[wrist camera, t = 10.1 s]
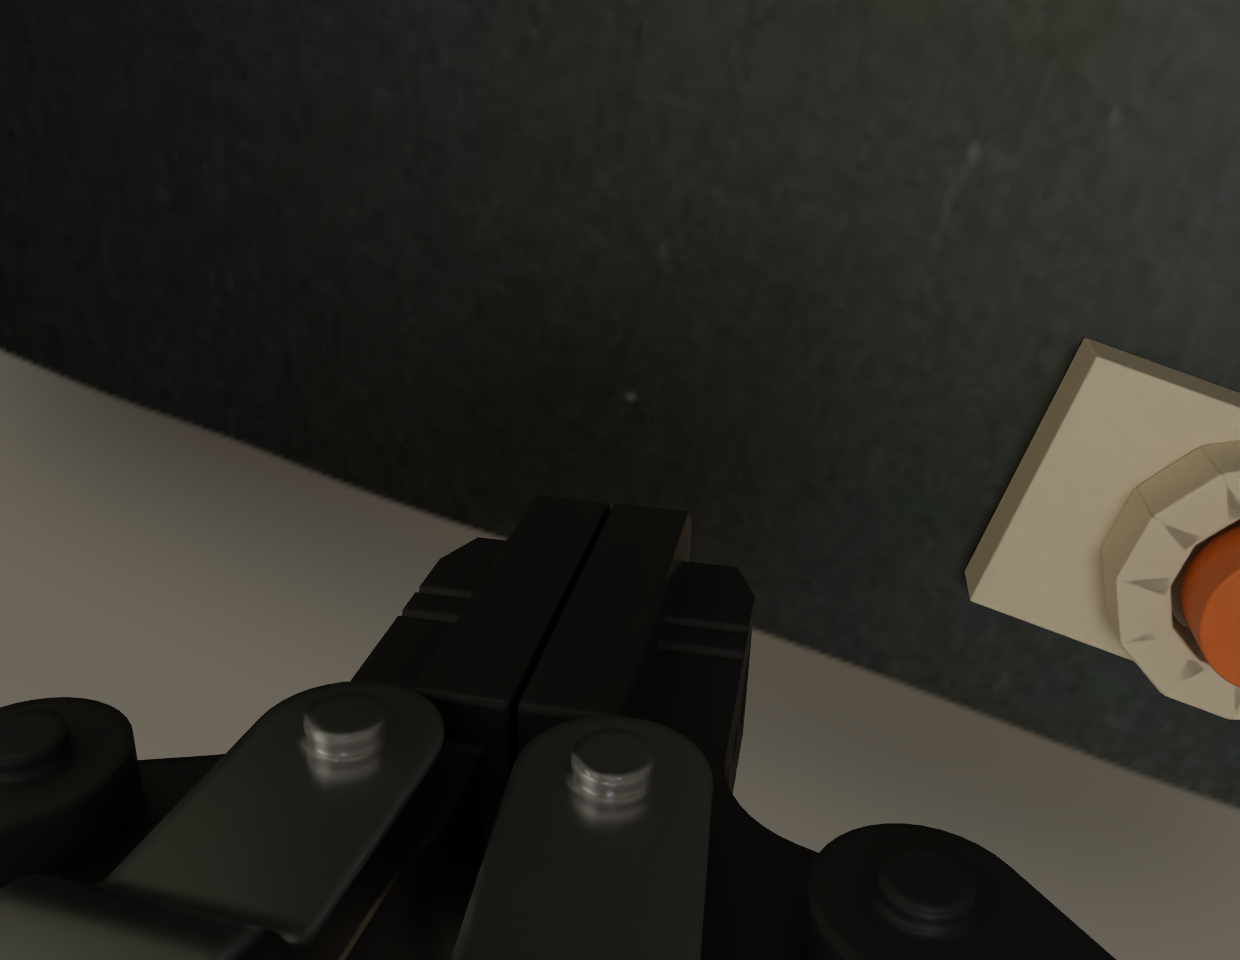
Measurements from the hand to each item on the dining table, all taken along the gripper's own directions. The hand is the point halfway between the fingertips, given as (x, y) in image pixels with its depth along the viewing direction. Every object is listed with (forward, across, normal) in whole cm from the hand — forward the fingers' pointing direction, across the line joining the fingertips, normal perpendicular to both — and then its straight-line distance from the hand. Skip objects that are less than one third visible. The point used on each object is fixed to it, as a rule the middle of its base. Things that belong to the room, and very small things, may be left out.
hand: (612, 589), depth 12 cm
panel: (+20, -12, +7) cm, 24 cm away
